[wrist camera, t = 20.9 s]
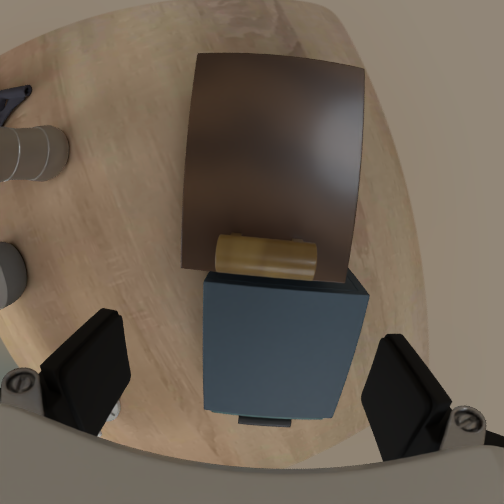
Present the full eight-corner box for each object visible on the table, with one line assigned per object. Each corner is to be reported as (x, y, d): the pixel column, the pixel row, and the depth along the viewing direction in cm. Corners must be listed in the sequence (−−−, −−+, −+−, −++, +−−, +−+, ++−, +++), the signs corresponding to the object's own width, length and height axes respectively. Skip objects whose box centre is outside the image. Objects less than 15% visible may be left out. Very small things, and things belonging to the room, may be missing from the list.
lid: (342, 279, 20) (367, 316, 15) (183, 265, 21) (153, 296, 15) (361, 71, 17) (392, 38, 11) (199, 57, 17) (176, 18, 11)
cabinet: (320, 365, 33) (332, 418, 24) (217, 357, 34) (203, 409, 25) (342, 260, 29) (370, 295, 21) (222, 249, 30) (203, 281, 21)
